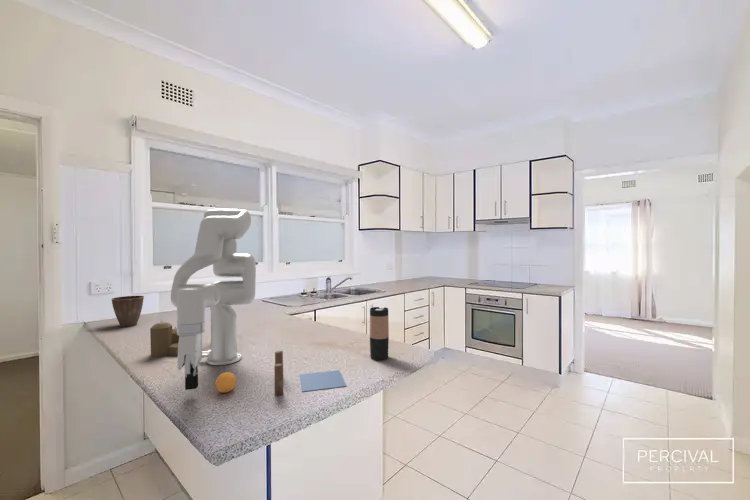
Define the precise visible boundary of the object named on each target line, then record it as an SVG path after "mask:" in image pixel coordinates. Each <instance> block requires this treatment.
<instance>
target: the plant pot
mask: <svg viewBox="0 0 750 500" xmlns="http://www.w3.org/2000/svg"><path fill="white" fill-rule="evenodd" d="M144 299H145V296H144V295H126V296H124V295H123V296H117V297H114V298H113V297H112V298H111V304H112V308H113V312H114V314H115V317H116V319H117V321H118V324H119V325H120V327H122V328H127V327H128V328H129V327H134V326H136V325H137V324H138V323H139V320H140V317H141V313H142V309H143V305H144V304H143V303H144Z"/></svg>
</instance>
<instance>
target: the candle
mask: <svg viewBox="0 0 750 500" xmlns="http://www.w3.org/2000/svg"><path fill="white" fill-rule="evenodd" d="M149 330H150V337H149V338H150V356H151V357H154V358H160V357H165V356H174V357H178V343H179V335H177V326H174V328H173V325H172V324H171V323H170V322H164V321H163V319H162V318H160V321H159V322H157V323H155V324H153V325H152V326H151V327H150V329H149Z"/></svg>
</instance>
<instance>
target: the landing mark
mask: <svg viewBox="0 0 750 500" xmlns="http://www.w3.org/2000/svg"><path fill="white" fill-rule="evenodd" d="M299 378H300V379H299V380H300V385H301V386H300V387H301V391H302V393H304V392H314V391H320V390H321V391H322V390H328V389H329V390H330V389H336V388H344V387H347V383H346V382H345V380H344V377H343V376H342V374H341V371H340V370H339V369H337V370H330V371H327V370H326V371H320V372H310V373H309V372H308V373H302V374H301V373H300V374H299Z"/></svg>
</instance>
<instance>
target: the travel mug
mask: <svg viewBox="0 0 750 500" xmlns="http://www.w3.org/2000/svg"><path fill="white" fill-rule="evenodd" d="M389 328H390V327H389V308H388V307H382V308H380V307H379V306H373V307H370V309H369V351H370V356H369V357H370V359H371V360H372V361H377V362H378V361H386V360H387V359H388V358H389V343H390V342H389V339H390V337H389V336H390V335H389V334H390V333H389Z"/></svg>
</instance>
